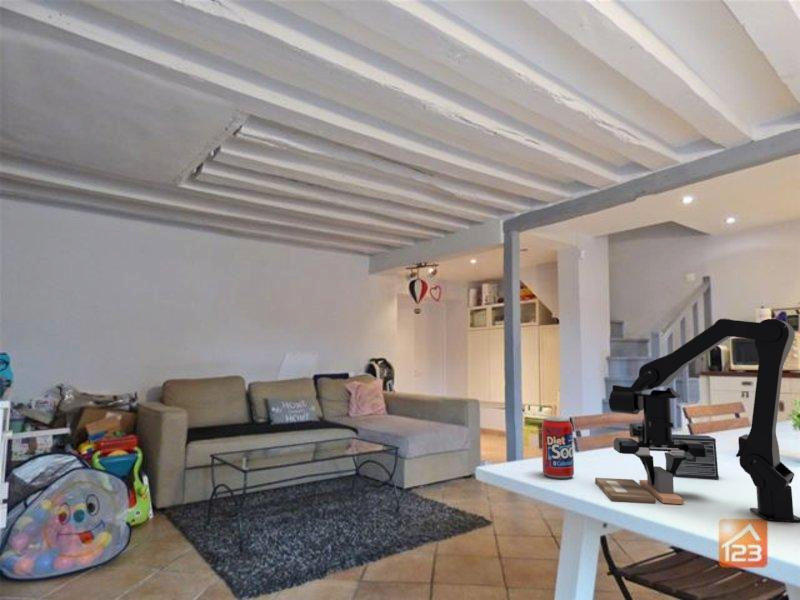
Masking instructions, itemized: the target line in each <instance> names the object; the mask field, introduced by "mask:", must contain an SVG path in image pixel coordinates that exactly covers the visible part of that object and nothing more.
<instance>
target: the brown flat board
mask: <svg viewBox="0 0 800 600" xmlns="http://www.w3.org/2000/svg"><path fill="white" fill-rule="evenodd" d="M594 478H595V479H594V483H595V484H596V485H597V487H599V488H600V489H601V491H602V492H603V493H604V494H605V495H606V496H607V498H608V499H609V500H610V501H611V502H617V503H618V502H620V503H639V504H655V503H656V504H657V498H656V497H655V496H654V495H652V494H651V493H650V492H649V491H648V490H646V489H645V488H644V487H643V486H641V485H640V484H639V483H638V482H637V481H636V480H634V479H632V478H631V479H629V478H628V479H627V478H609V477H607V478H606V477H594Z"/></svg>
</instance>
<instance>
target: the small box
mask: <svg viewBox="0 0 800 600" xmlns="http://www.w3.org/2000/svg"><path fill="white" fill-rule="evenodd" d="M679 440H692V441H697V442H700V443H702V444H704V445H705V447H706V449H707V457H693V456H692V455H690V454H689V453H688V452H684V453H685V454H684V456H685V457H687V460H683V461H682V462H681V464H680V466H679V467H678V469H677V471H676V473H675V475H674V476H675V477H674V478H688V479H689V478H690V479H691V478H692V479H708V480H719V479H720V476H719V471H718V470H719V468H718V455H717V444H716V442H717V440H716V438H715V437H712V436H709V435H703V434H702V435H701V434H700V435H699V434H673V433H672V441H674V444H678V443H679Z"/></svg>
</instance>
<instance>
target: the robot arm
mask: <svg viewBox="0 0 800 600" xmlns="http://www.w3.org/2000/svg"><path fill="white" fill-rule="evenodd" d="M795 337H796V332H795V329H794V327H793V326H791V324H789V323H788V322H786V321H784V320H780V319H775V318H767V319H763V320H761V321H760V322H757V321H746V320H745V321H744V320H736V319H730V318H724V317H723V318H719V319H717V320H716V321H715V323H713V324H711V326H709V327H708V328H706V329H705V330H703V331H702V332H701V333H698V334H697V335H696V336H694V337H693V338H691V339H690V340H689V341H687V342H685V343H684V344H682V345H681V346H680V347H678V348H677V349H675V350H674V351H673V352H670V353H669V354H666V355H663V356H661V357H659V358H656V359H654V360H651V361H648V362H647V363H645V364H643V365H642V366H640V367H639V370H638V377H637V378H636V379H635V381H634V382H633V383H632V384H631V386H626V385H621V384H620V385H619V384H616V385H615V384H614V385H612V390H611V392H610V395H609V398H608V406H609V409H610V411H611V412H612V413H615V414H617V413H618V414H626V415H627V414H628V415H636V416H637V415H638V414H639V413H640V412H642V411H643V419H642V422H641V423H642V425H640V424H639V423H636V422H635V423H633V422H632V423H629V425H628V426H629V436H630V437H615V438H614V440H613V450H615V451H616V452H617V453H618V454H623V455H624V454H625V455H634V456H636V457H637V458H639V460H640V461H641V463H642V465H643V467H644V470H645V473H646V475H647V476H648V478H649V481H650V483H651V485H654V456H653V455H651V453H650V451H651V452H652V451H653V452H664V453H663V454H664V456H665V457H664V458H665V470H666V471H668V472H670V473H671V474H673V478H675V477H674V475H675V473H676V471H677V469H678V467H679V466H680V464H681V462H682V461H683V460H687V457H685V456H684V454H685V453H684V452H688V453H689V454H690V455H692V456H693V457H707V449H706V447H705V445H704V444H702V443H700V442H697V441H692V440H679V443H678V444H674V441H672V434H673V431H672V429H673V428H674V423H673V422H672V412H671V411H672V410H671V409H672V408H671V399H679V398H681V395H680V394H679V393H678V392H676V390H674V388H673V387H667V388H666V390H663V389H662V390H661V389H656V388H663V387H666V386H669V385H670V384H671V383H672V382H674V380H676V378H677V377H678V376H679V375H680V374H681V373H682V371H683V370H684V369H685V368H686V367H688V366H689V365H690V364H691V363H693V362H695V361H696V360H698V359H699V358H701V357H703V356H704V355H705V354H707V353H708V352H710V351H713V349H714V348H716V347H718V346H719V345H722V343H724V342H725V341H727V340H728V339H730V338H740V339H749V340H754V344H755V345H754V346H755V350H756V355H757V360H758V361H757V362H758V368H757V375H756V383H755V384H756V385H755V393H754V401H753V410H752V411H753V412H752V419H751V428H750V430H749V433H745V434H743V435H741V436H738V451H737V453H736V455H735V457H736V458H739V466H740V467H741V468H742V469H743V471H744V472H745V473H747V474H748V475H749V477H750V478H751V481H752V482H753V484H754V485H753V486H755V487H756V488H755V489H756V503H757V507H749V511H751V512H752V513H754V514H755V515H757V516H760V517H761V518H762V519H764V520H766V521H776V522H778V521H779V522H792V523H793V522H795V523H800V517H799V516H797V515H795V514H794V506H793V491H792V486H791V485H790V484H792V482H793V480H794V477H795V473H794V472H793V471H792V470H791V469H789V467H788V466H786V465H785V464H784V463H783V462H782V461H781V455H780V446H779V441H778V437H777V433H776V432H777V430H776V429H777V422H778V415H779V414H778V413H779V405H780V396H781V390H782V389H781V388H782V378H783V369H784V366H785V365H784V364H785V362H786V360H787V358H788V355H789V353H790V352H791V349H792V346H793V343H794V341H795V340H794V339H795ZM651 390H652V391H651ZM644 391H645V392H646V391H651V392H650V393H645V392H644ZM633 438H635V439H636V438H638V439H637V440H638V441H636V440H635V439H633ZM647 476H646V477H647Z"/></svg>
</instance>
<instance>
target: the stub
mask: <svg viewBox="0 0 800 600" xmlns="http://www.w3.org/2000/svg"><path fill="white" fill-rule="evenodd" d="M646 478H647V479H639V483H638V484H639V485H641V486H642V487H643V488H644V489H645V490H647V491H648V492H649V493H650V494H652V495H653V496H654V497H655V498H656V500H658V501H660V502H661V503H662V504H675V505H676V504H677V505H684V504H685V502H684V498H682V497H681V496H680V495H679V494H677V493H675V491H674V489H675V488H674V477H673V474H671V473H670V472H668V471H666V468H663V467H661V466H656V465H655V466H654V485H651V483H650V481H649V478H648V476H646Z"/></svg>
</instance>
